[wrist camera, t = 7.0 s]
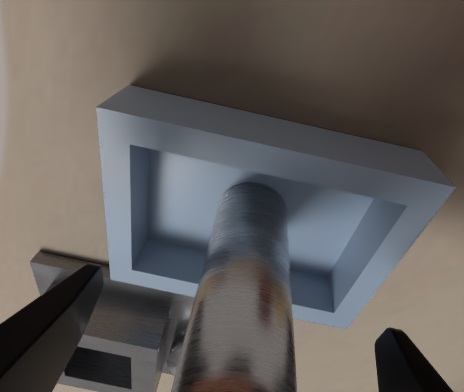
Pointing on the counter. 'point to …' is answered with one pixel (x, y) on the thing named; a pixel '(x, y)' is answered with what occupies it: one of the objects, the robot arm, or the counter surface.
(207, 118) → the tray
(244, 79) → the counter surface
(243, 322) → the lock pin
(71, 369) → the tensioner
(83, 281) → the robot arm
